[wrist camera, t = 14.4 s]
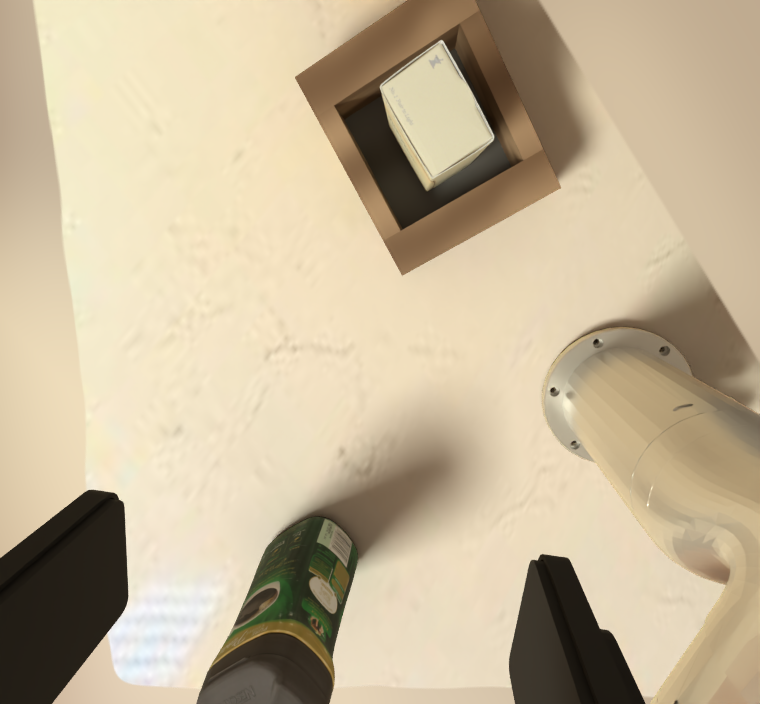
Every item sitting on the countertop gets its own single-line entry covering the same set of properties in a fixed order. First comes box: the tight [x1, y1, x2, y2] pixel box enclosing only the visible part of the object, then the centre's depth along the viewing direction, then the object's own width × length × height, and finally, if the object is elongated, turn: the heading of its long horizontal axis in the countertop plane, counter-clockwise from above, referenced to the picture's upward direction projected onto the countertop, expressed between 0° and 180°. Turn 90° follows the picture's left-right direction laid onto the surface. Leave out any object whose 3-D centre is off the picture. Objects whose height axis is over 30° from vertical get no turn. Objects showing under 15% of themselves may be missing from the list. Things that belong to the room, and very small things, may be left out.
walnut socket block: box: [295, 0, 561, 275], centre depth 37 cm, size 16×13×5 cm
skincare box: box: [380, 40, 494, 192], centre depth 33 cm, size 6×4×12 cm
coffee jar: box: [197, 517, 358, 704], centre depth 41 cm, size 10×8×19 cm
